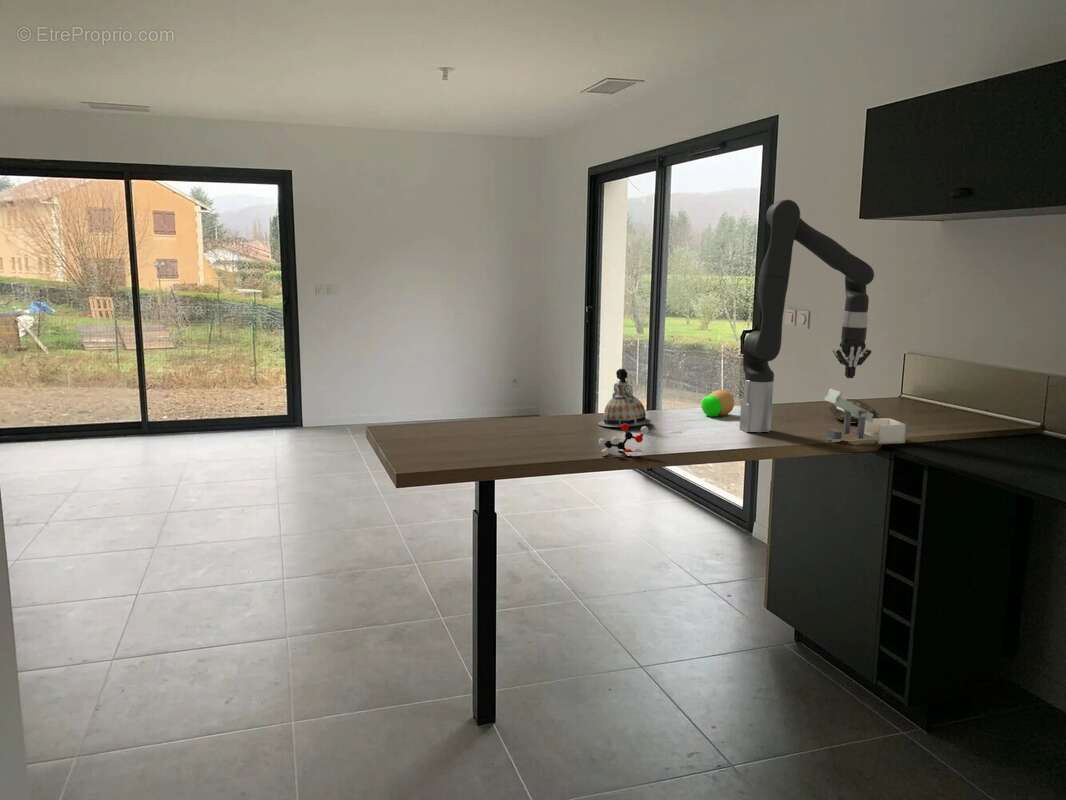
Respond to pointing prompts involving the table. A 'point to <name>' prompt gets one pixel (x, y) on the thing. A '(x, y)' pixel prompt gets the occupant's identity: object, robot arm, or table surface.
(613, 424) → the figurine
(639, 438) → the molecular model
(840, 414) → the turtle shell
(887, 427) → the white open box
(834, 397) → the lever
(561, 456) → the table surface
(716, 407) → the green and tan spheres
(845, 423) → the fulcrum
